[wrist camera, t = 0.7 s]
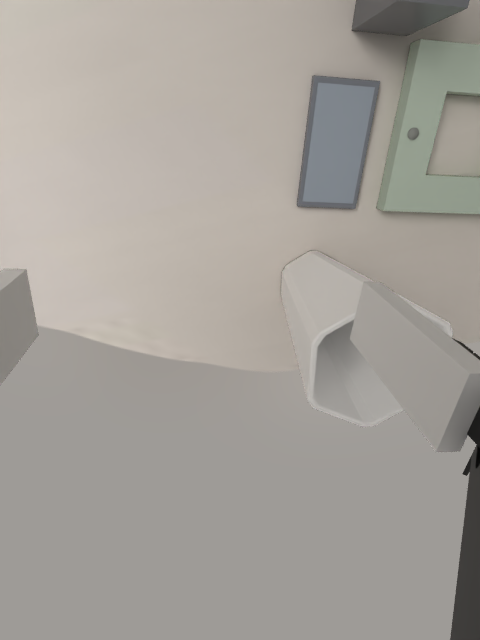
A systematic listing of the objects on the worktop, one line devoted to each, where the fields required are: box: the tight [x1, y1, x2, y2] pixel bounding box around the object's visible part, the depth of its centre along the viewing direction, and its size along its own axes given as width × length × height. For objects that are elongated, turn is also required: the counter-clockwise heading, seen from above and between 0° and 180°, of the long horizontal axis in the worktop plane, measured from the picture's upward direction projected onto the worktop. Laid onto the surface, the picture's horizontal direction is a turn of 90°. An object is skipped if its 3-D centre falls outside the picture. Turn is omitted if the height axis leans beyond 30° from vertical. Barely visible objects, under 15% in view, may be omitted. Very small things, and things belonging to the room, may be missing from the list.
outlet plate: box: [377, 39, 480, 214], centre depth 35 cm, size 14×14×2 cm
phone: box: [297, 75, 380, 209], centre depth 35 cm, size 11×6×1 cm, turn 177°
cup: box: [281, 251, 453, 427], centre depth 34 cm, size 11×10×17 cm
